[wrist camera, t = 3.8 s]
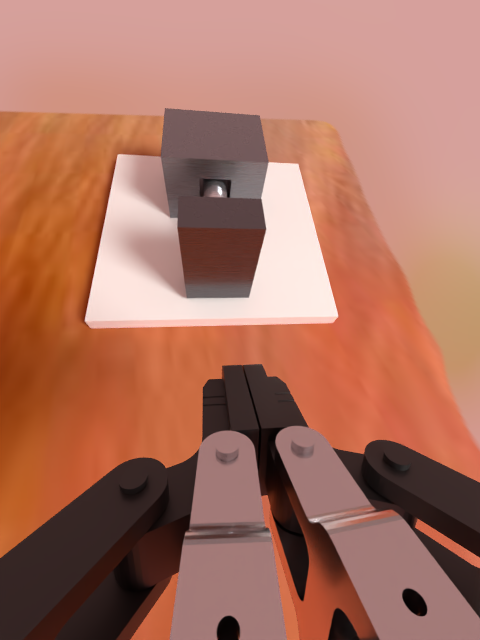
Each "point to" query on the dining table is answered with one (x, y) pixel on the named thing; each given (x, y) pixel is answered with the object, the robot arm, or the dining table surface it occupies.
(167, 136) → the block
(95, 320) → the base board
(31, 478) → the dining table surface
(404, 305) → the dining table surface
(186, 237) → the shaft
